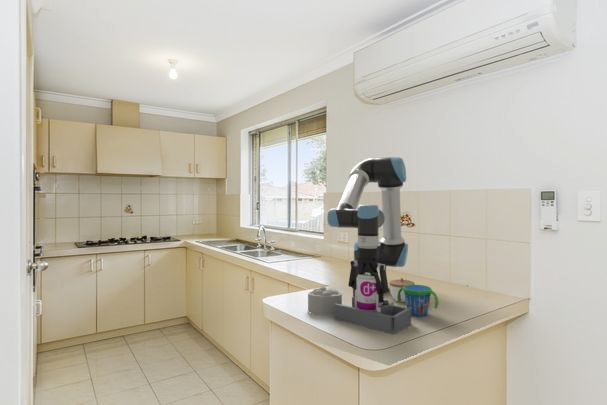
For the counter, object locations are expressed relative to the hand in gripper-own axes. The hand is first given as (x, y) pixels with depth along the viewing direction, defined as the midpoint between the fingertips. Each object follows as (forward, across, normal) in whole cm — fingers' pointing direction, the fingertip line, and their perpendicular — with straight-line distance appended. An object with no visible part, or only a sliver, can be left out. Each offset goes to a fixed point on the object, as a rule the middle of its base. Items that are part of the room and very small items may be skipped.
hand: (367, 308), depth 135 cm
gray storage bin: (+4, +2, 0) cm, 5 cm away
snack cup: (+4, +11, +19) cm, 22 cm away
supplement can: (+2, 0, 0) cm, 2 cm away
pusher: (+3, +7, 0) cm, 8 cm away
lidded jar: (+5, -2, +33) cm, 33 cm away
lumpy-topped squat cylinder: (+5, -19, -1) cm, 20 cm away
